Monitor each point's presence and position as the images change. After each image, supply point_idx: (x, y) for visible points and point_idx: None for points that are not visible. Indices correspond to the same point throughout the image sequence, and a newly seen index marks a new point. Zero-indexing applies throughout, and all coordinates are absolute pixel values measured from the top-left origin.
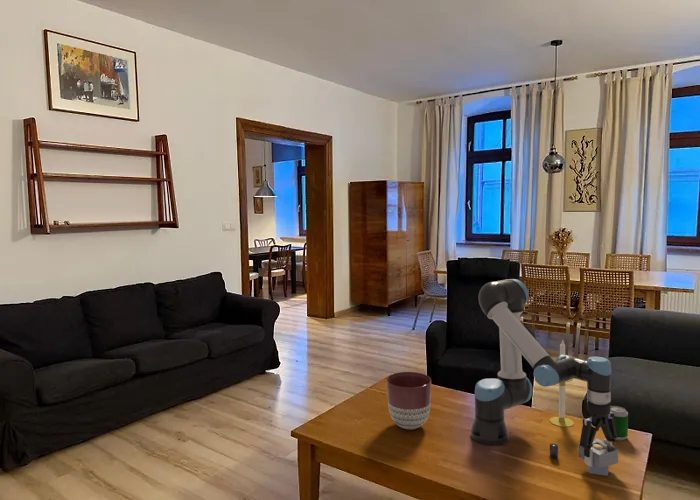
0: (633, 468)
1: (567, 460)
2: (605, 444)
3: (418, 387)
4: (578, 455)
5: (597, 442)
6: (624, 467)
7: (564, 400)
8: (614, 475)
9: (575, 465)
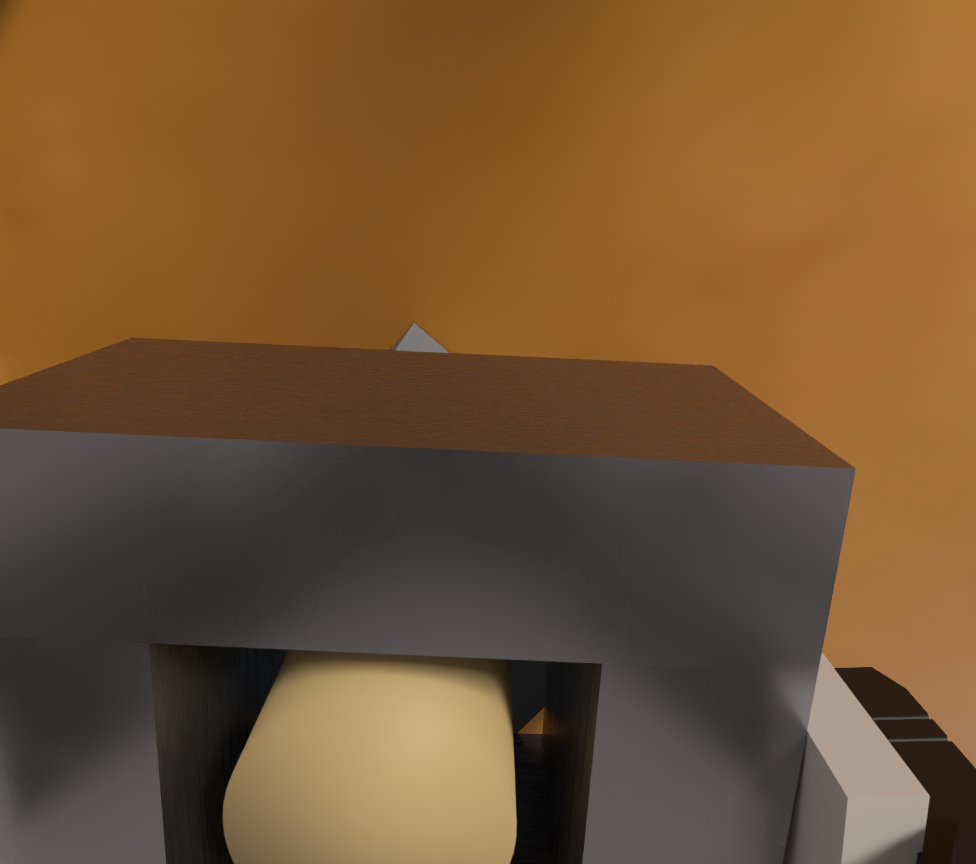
0: (968, 709)
1: (199, 40)
2: (695, 854)
3: None
4: (122, 343)
5: (594, 661)
6: (883, 639)
7: None
8: (540, 714)
9: (209, 250)
